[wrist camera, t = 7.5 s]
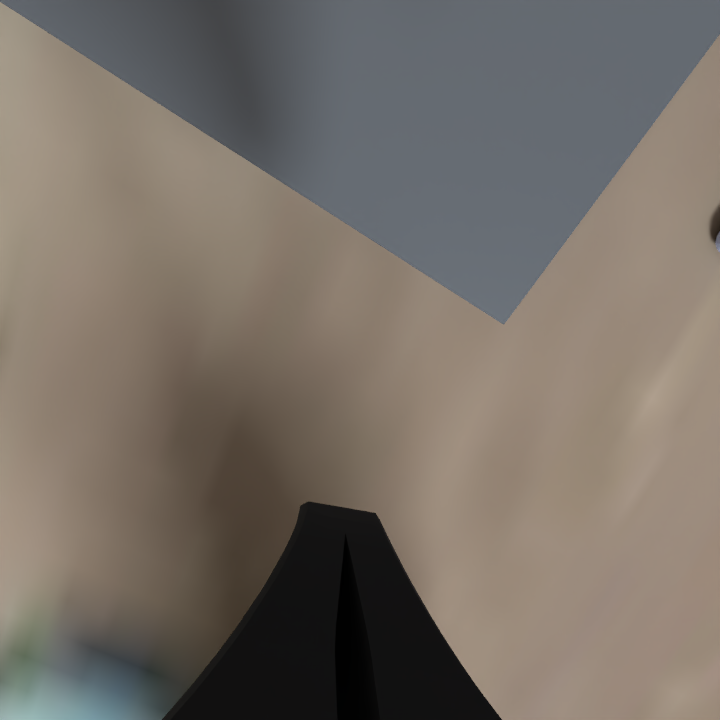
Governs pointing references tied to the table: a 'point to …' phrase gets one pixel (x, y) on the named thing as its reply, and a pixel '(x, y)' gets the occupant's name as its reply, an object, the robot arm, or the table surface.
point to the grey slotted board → (414, 108)
